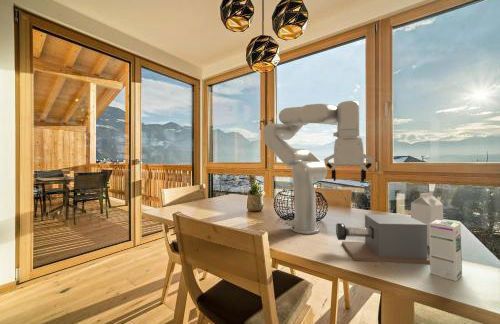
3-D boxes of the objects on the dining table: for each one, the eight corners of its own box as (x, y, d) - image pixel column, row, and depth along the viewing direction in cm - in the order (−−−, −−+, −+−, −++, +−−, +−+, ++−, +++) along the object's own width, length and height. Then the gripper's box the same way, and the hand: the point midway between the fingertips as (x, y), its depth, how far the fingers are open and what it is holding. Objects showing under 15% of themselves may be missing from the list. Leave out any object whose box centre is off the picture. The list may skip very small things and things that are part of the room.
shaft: (340, 242, 76) (339, 226, 76) (336, 236, 82) (335, 221, 82) (397, 244, 74) (397, 227, 74) (389, 238, 79) (389, 222, 79)
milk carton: (410, 240, 87) (410, 192, 87) (422, 238, 90) (422, 191, 89) (431, 247, 81) (430, 195, 80) (443, 244, 83) (443, 193, 83)
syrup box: (456, 282, 58) (456, 227, 58) (429, 273, 63) (428, 222, 63) (462, 275, 62) (462, 223, 62) (435, 267, 67) (435, 218, 66)
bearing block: (354, 260, 72) (353, 224, 71) (342, 243, 85) (341, 213, 85) (432, 263, 68) (432, 225, 68) (407, 245, 82) (406, 214, 82)
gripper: (323, 135, 83) (323, 181, 83) (376, 133, 77) (376, 182, 77) (324, 137, 90) (324, 179, 90) (372, 135, 84) (372, 180, 84)
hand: (348, 180), depth 84 cm, fingers open, 9 cm apart
